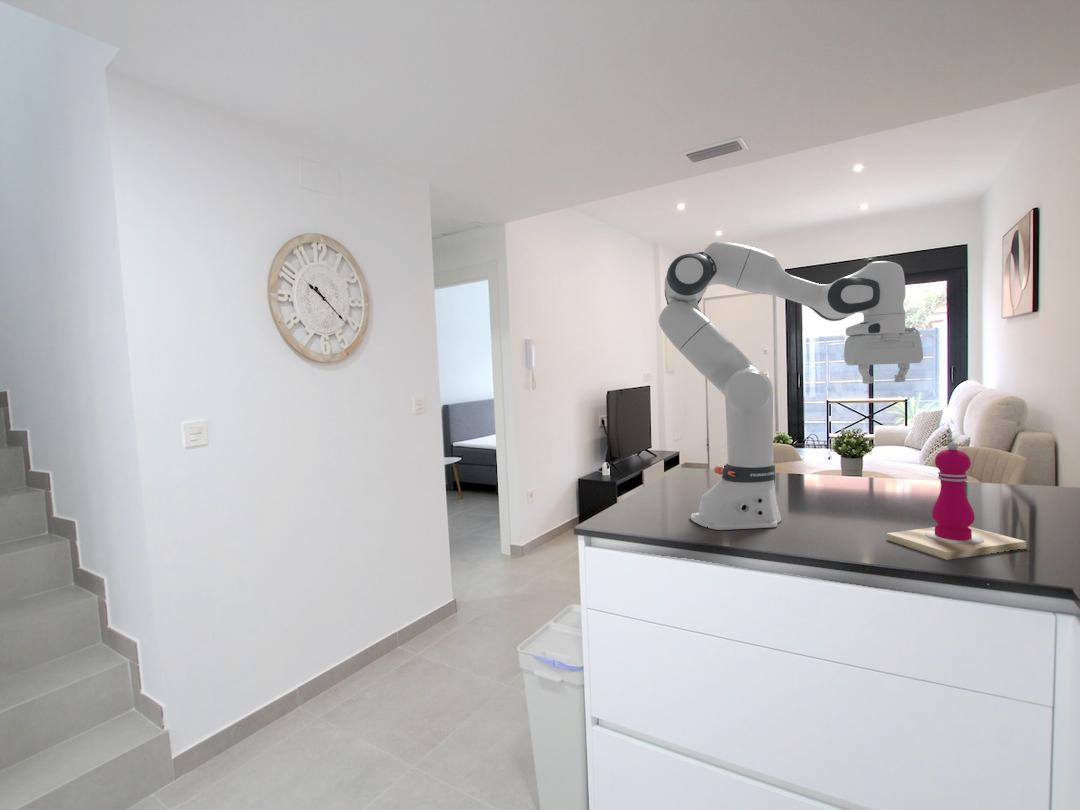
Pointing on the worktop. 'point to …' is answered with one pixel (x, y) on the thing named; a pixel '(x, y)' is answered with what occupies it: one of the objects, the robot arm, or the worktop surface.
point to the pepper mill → (953, 495)
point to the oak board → (956, 543)
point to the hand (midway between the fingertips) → (883, 382)
